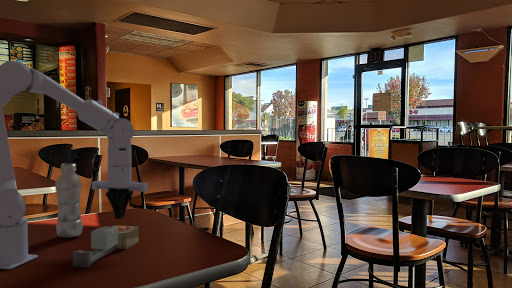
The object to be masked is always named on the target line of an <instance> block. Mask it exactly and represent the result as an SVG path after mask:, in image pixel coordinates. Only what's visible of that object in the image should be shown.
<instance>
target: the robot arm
mask: <svg viewBox="0 0 512 288" xmlns="http://www.w3.org/2000/svg"><path fill="white" fill-rule="evenodd" d="M27 88H29V91H28V93H32V94H33V93H34V94H43V95H45V96H48V97H50V98H52V99H54V100H55V101H57V102H59V103H61V104H63V105H64V106H66V107H67V108H69V109H72V110H73V111H74V112H75V113H77V117H78V119H79V120H80V121H81V122H83V123H85V124H87V125H88V126H90V127H92V128H93V129H95V130H97V131H98V132H100V133H104V134H105V136H106V137H107V180H95V181H91V190H107V191H106V192H105V197H106V198H107V200H108V201H109V203H110V205H111V208H112V210H113V215H114V218H115V219H116V220H122V219H124V218H125V214H126V210H127V207H128V205H129V201H130V200H131V197H132V196H133V194H134V192H141V193H145V192H148V187H149V186H148V185H149V184H148V182H147V183H146V182H140V181H138V182H137V181H132V138H133V137H134V136H135V132H136V129H134V125H133V124H132V122H131V121H130V120H128V119H127V118H123V117H121V118H120V113H118V112H117V111H115V112H113V111H112V110H110V109H108V108H107V107H106V106H104V105H103V102H102V101H101V100H99V99H98V100H96V101H95V100H93V99H87V100H84V99H82V98H81V97H79V96H78V95H77V94H75V93H73V92H72V91H70V90H69V89H67V88H66V87H64V86H63V85H61V84H60V83H58V82H57V81H55V79H54V80H53V79H52V78H51V77H49V76H47V75H46V74H44V73H42V72H40V71H39V70H37V69H35V68H32V67H30V68H29V67H28V66H27V65H26V64H25V63H23V62H21V61H18V60H8V61H5V62H3V63H2V64H0V270H1V269H2V270H12V269H15V268H17V267H19V266H21V265H23V264H26V263H27V262H30V261H32V260H34V259H37V258H38V254H29V237H28V235H29V233H28V228H29V227H28V217H26V216H25V214H26V213H27V212H26V210H27V208H26V204H25V201H24V200H25V199H24V197H23V195H22V194H21V193H20V192H19V191H18V188H17V181H16V175H15V170H14V166H13V160H12V155H11V154H12V153H11V148H10V143H9V137H8V132H7V126H6V120H5V115H4V110H3V108H4V107H5V106H6V104H8V102H9V101H10V100H12V98H13V97H14V96H17V95H19V94H20V93H22V92H24V91H26V90H27Z"/></svg>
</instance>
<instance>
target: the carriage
mask: <svg viewBox="0 0 512 288" xmlns="http://www.w3.org/2000/svg"><path fill="white" fill-rule="evenodd" d="M90 237H91V239H90V241H91V242H90V245H91V250H96V249H102V250H107V249H109V248H111V247H113V246H115V245H116V244H118V227H112V226H105V225H103V226H101V227H97V228H96V229H94V230H92V231H91V232H90Z"/></svg>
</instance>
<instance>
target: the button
mask: <svg viewBox="0 0 512 288" xmlns="http://www.w3.org/2000/svg"><path fill="white" fill-rule="evenodd" d="M126 226H127V225H118V226H116V227H118V231H121V232H124V231H125V230H126Z"/></svg>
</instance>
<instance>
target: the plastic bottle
mask: <svg viewBox="0 0 512 288" xmlns="http://www.w3.org/2000/svg"><path fill="white" fill-rule="evenodd" d="M59 170H60V172H61V174H60V175H59V176H58V177H57V179H56V180H55V183H54V187H55V192H56V197H57V198H56V199H57V221H56V224H55V225H56V228H55V231H56V234H57V236H58V237H60V238H69V239H70V238H75V237H78V236H80V235H81V234H82V232H83V228H84V225H83V220H82V214H81V207H80V206H81V203H80V202H81V192H82V183H83V182H82V180H81V178H80V177H79V176H78V174H77V173H76V171H77V163H73V162H72V163H61V164H60V169H59Z"/></svg>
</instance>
